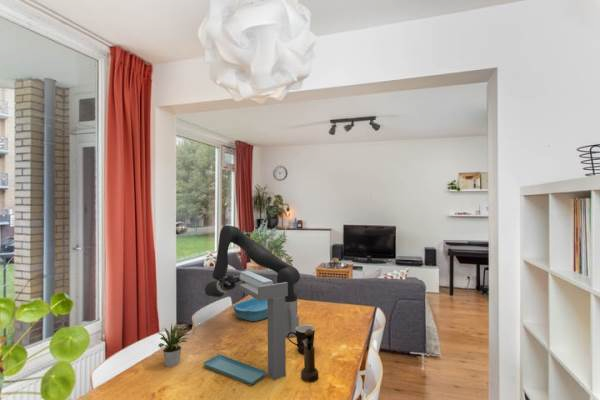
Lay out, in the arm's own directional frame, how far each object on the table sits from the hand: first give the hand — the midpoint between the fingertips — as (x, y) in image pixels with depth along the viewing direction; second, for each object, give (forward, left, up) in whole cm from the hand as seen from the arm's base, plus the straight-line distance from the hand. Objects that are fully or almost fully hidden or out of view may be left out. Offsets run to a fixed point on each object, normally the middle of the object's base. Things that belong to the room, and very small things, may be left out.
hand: (239, 276), depth 152 cm
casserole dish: (-17, -39, -32) cm, 53 cm away
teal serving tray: (+5, +26, -32) cm, 41 cm away
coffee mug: (-26, +17, -32) cm, 44 cm away
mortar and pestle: (-22, +39, -32) cm, 55 cm away
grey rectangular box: (-5, +20, +1) cm, 20 cm away
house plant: (+29, +13, -32) cm, 45 cm away
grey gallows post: (-6, +27, -31) cm, 42 cm away
